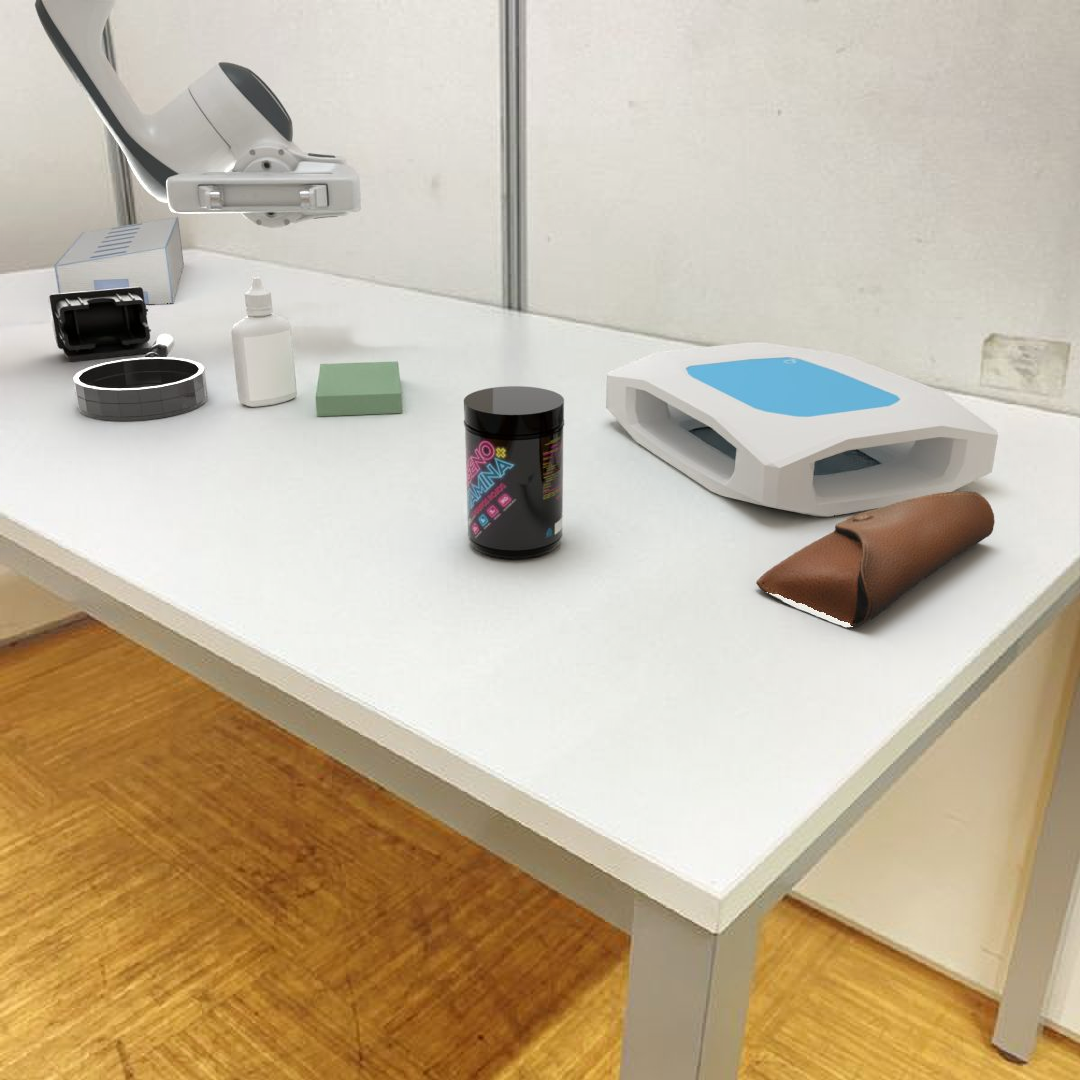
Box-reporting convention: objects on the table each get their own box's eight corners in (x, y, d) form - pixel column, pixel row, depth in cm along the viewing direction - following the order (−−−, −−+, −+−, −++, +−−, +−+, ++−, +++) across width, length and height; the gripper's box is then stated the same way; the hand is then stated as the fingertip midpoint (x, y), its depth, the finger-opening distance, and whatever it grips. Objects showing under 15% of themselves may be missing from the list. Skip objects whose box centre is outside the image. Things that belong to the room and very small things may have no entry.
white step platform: (766, 529, 82) (773, 447, 79) (601, 421, 105) (603, 355, 103) (995, 490, 89) (1008, 413, 86) (792, 397, 113) (798, 335, 110)
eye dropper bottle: (297, 405, 110) (286, 281, 105) (238, 408, 109) (224, 283, 104) (297, 392, 114) (286, 272, 109) (239, 396, 113) (226, 274, 108)
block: (317, 416, 107) (315, 396, 106) (321, 382, 117) (320, 363, 117) (402, 413, 108) (401, 393, 107) (399, 379, 118) (398, 361, 118)
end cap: (146, 339, 135) (137, 282, 132) (156, 352, 129) (148, 293, 126) (56, 348, 130) (46, 290, 128) (63, 362, 125) (52, 301, 122)
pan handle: (143, 371, 116) (141, 354, 115) (159, 348, 124) (157, 332, 124) (161, 371, 116) (159, 354, 115) (176, 348, 125) (174, 332, 124)
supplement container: (474, 522, 83) (471, 384, 79) (566, 526, 82) (568, 387, 78) (460, 560, 77) (455, 413, 72) (559, 565, 76) (560, 416, 72)
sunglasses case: (880, 507, 84) (935, 444, 80) (951, 575, 82) (1011, 514, 77) (746, 586, 72) (802, 516, 67) (825, 667, 70) (888, 601, 65)
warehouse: (88, 269, 177) (80, 219, 174) (184, 265, 180) (178, 216, 177) (61, 308, 150) (51, 250, 147) (173, 303, 154) (166, 246, 150)
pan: (65, 423, 104) (59, 392, 103) (93, 388, 115) (89, 359, 114) (198, 418, 106) (194, 387, 105) (214, 383, 117) (211, 355, 116)
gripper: (172, 157, 125) (150, 168, 113) (359, 156, 128) (358, 167, 115) (179, 215, 128) (158, 233, 115) (362, 213, 130) (361, 231, 118)
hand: (260, 200), depth 115 cm, fingers open, 8 cm apart
